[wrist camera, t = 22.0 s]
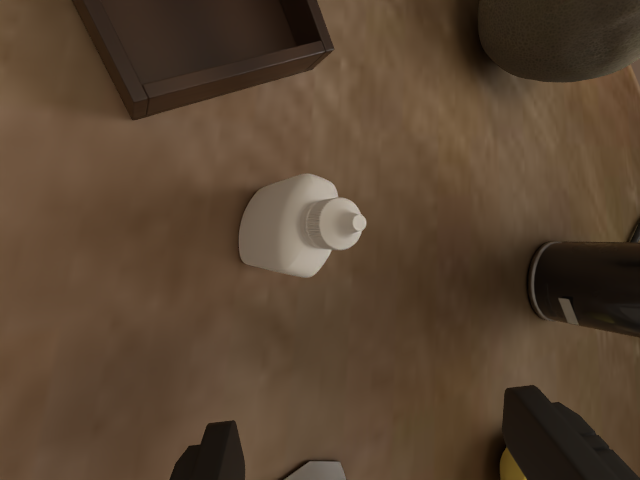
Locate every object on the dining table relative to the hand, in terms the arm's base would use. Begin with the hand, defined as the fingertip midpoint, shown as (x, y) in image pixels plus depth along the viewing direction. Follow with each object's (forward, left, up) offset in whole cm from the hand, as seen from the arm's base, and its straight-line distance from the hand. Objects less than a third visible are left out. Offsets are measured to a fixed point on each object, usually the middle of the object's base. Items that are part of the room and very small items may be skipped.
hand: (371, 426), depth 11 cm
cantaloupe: (-37, -12, -16) cm, 42 cm away
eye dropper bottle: (-5, -5, -16) cm, 17 cm away
